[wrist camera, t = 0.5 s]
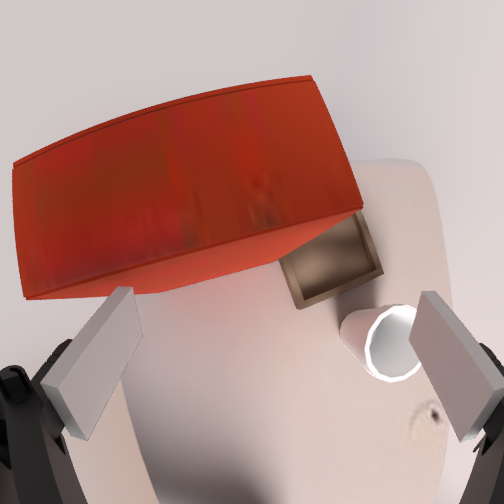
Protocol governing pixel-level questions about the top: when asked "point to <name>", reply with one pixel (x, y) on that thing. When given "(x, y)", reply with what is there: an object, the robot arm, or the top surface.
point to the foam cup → (382, 340)
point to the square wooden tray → (331, 262)
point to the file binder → (181, 192)
